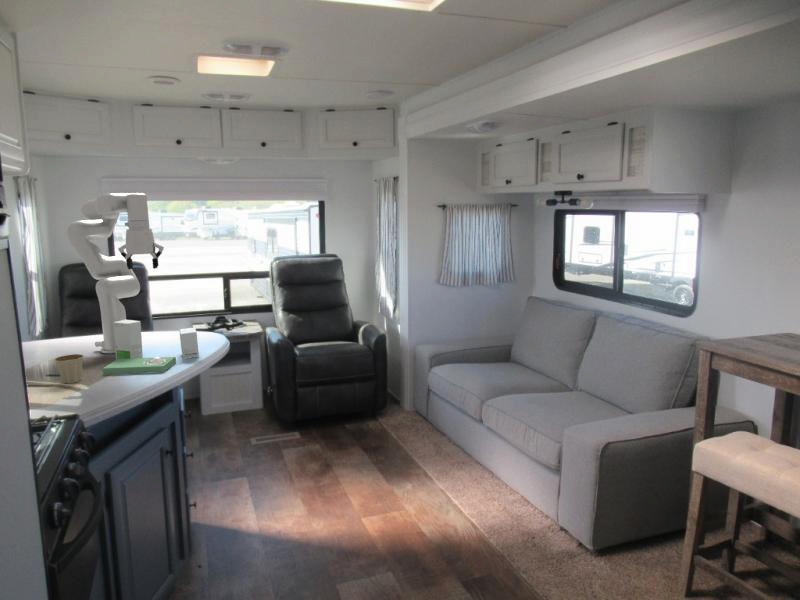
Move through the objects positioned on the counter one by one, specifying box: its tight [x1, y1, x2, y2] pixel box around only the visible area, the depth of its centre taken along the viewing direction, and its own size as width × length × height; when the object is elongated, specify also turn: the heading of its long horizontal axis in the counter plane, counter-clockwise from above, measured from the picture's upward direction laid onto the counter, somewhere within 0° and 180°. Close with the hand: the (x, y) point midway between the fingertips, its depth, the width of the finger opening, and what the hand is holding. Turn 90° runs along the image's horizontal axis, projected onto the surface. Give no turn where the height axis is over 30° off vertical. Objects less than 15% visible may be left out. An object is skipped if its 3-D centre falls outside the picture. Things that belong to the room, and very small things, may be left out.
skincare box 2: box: [179, 327, 200, 359], centre depth 251 cm, size 10×6×10 cm, turn 22°
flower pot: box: [53, 353, 85, 384], centre depth 217 cm, size 9×9×9 cm
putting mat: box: [102, 356, 177, 376], centre depth 232 cm, size 22×14×2 cm, turn 93°
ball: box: [151, 356, 163, 364], centre depth 233 cm, size 4×4×4 cm
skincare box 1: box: [114, 319, 144, 361], centre depth 247 cm, size 8×7×16 cm
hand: (143, 268), depth 244 cm, fingers open, 9 cm apart
